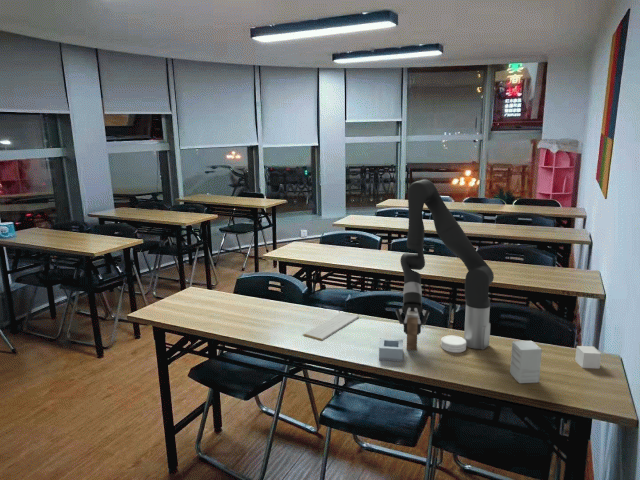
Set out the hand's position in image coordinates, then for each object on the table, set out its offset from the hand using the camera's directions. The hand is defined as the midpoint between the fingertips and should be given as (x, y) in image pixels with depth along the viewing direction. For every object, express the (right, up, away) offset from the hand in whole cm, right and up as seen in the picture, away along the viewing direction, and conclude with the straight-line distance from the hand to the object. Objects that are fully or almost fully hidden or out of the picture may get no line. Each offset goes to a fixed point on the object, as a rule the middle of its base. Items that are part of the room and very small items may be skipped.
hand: (412, 333), depth 184 cm
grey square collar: (-9, -8, -3) cm, 12 cm away
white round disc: (+18, -7, +3) cm, 19 cm away
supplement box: (+35, -11, -22) cm, 43 cm away
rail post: (0, -6, +3) cm, 7 cm away
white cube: (+63, -9, -12) cm, 65 cm away
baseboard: (-32, -3, +28) cm, 42 cm away
